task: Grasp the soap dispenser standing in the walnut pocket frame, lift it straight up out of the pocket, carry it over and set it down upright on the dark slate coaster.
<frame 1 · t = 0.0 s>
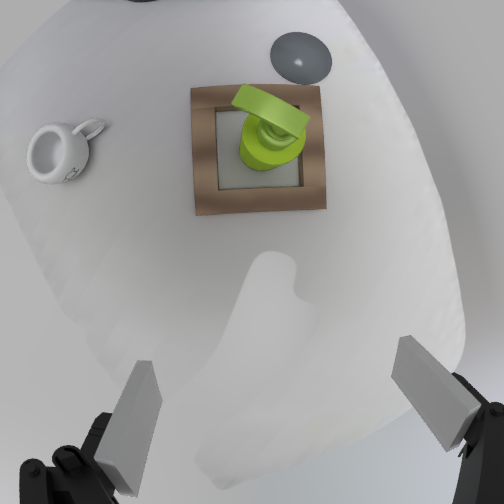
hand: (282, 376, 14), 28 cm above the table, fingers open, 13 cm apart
soap dispenser: (257, 148, 38), resting in pocket frame
mug: (82, 148, 36), on the table
coaster: (301, 57, 35), on the table
pocket frame: (257, 147, 38), on the table
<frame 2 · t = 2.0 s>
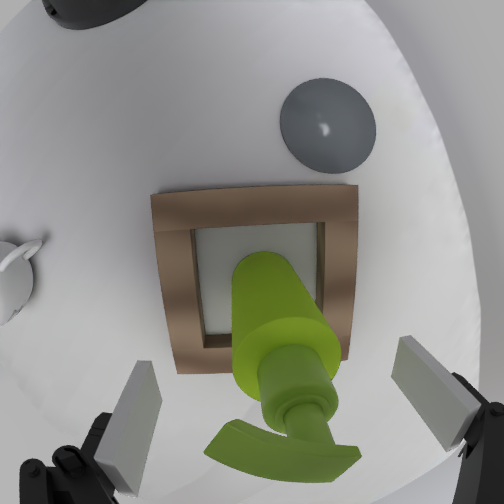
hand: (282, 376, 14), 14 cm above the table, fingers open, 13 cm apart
soap dispenser: (258, 279, 27), resting in pocket frame
mug: (25, 262, 25), on the table
coaster: (329, 125, 24), on the table
pocket frame: (258, 280, 27), on the table
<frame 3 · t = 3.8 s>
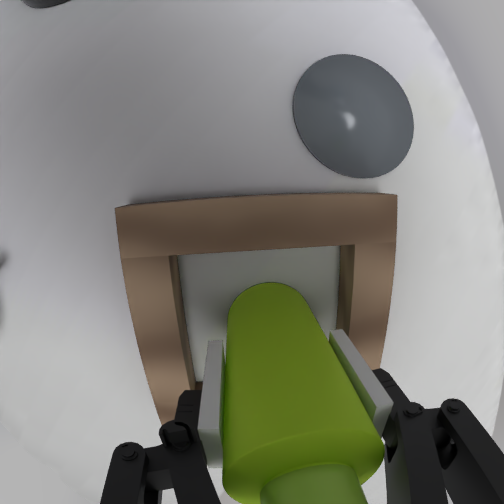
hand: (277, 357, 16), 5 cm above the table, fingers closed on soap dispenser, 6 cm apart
soap dispenser: (262, 317, 21), resting in pocket frame, touching gripper
coaster: (356, 114, 17), on the table
pocket frame: (263, 318, 20), on the table
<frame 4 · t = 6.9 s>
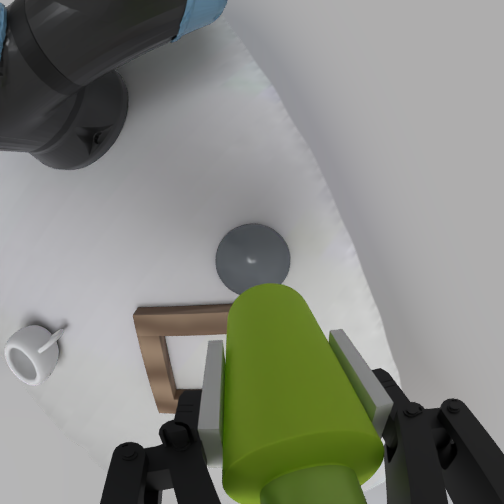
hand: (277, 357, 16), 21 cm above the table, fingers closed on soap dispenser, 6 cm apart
soap dispenser: (262, 317, 21), point 16 cm above the table, touching gripper
mug: (50, 337, 37), on the table
coaster: (253, 260, 36), on the table
pocket frame: (207, 360, 39), on the table
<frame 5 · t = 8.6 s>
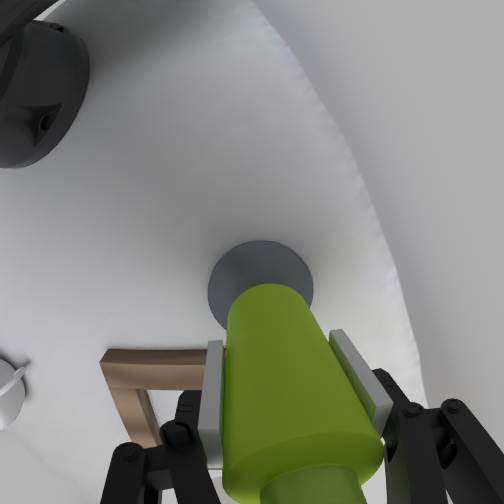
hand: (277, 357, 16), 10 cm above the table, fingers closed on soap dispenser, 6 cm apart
soap dispenser: (262, 317, 21), point 5 cm above the table, touching gripper
mug: (15, 372, 26), on the table
coaster: (260, 292, 25), on the table
pocket frame: (200, 412, 28), on the table
when the fingers open (7 cm above the table, at t = 9.9 s): soap dispenser drops 2 cm, resting on coaster.
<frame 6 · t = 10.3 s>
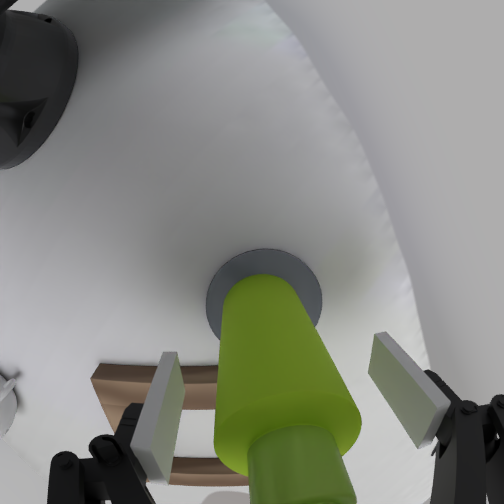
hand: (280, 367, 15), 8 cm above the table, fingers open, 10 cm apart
soap dispenser: (255, 306, 22), resting on coaster
mug: (6, 382, 24), on the table
coaster: (264, 305, 23), on the table
pocket frame: (199, 429, 26), on the table
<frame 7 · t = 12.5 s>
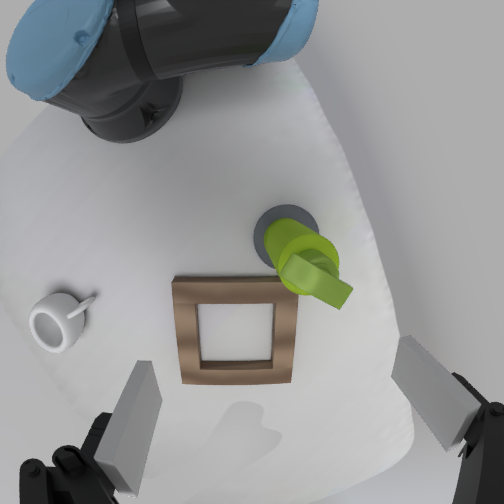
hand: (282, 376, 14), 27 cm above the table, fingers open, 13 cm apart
soap dispenser: (281, 237, 40), resting on coaster
mug: (77, 306, 41), on the table
coaster: (286, 237, 40), on the table
pocket frame: (235, 330, 43), on the table
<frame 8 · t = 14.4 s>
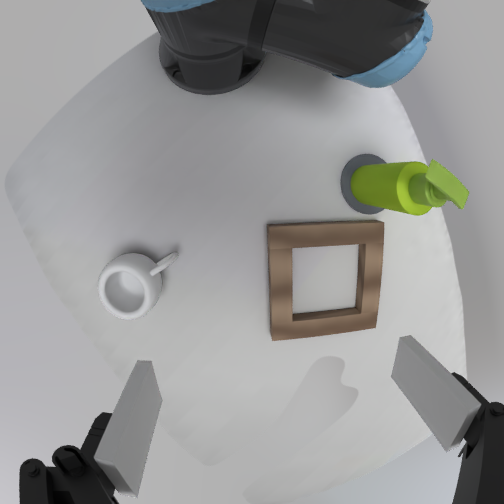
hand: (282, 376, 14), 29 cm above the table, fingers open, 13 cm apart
soap dispenser: (364, 183, 40), resting on coaster
mug: (149, 268, 42), on the table
coaster: (368, 184, 40), on the table
pocket frame: (324, 278, 43), on the table
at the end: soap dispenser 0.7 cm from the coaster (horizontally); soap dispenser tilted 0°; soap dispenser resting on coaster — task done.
